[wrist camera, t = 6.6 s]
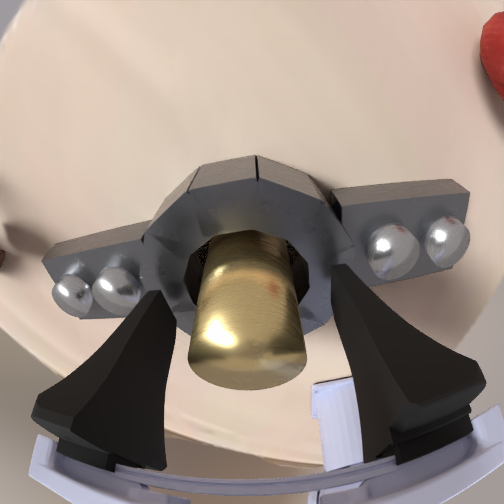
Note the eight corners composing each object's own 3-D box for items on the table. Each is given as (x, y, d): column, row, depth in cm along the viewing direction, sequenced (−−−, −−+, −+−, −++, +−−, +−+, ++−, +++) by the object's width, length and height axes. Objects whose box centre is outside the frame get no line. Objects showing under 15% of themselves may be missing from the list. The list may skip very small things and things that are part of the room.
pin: (286, 274, 15) (303, 386, 10) (216, 279, 16) (203, 390, 10) (284, 210, 13) (310, 322, 7) (203, 217, 13) (172, 330, 8)
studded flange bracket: (431, 277, 16) (451, 307, 13) (103, 321, 18) (90, 352, 16) (454, 141, 11) (490, 160, 8) (40, 214, 13) (13, 241, 10)
